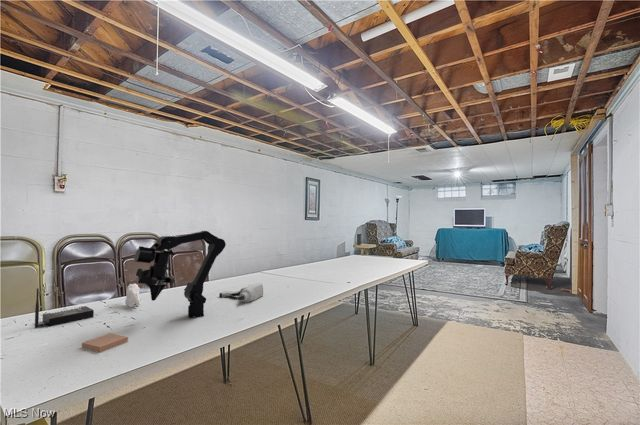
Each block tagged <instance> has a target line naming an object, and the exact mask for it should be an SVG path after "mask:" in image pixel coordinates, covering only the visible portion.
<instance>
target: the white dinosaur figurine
mask: <svg viewBox="0 0 640 425" xmlns="http://www.w3.org/2000/svg"><path fill="white" fill-rule="evenodd" d="M140 294H141V288H140V287H139V285H138V283H135V282H134V283H129V285H128V286H127V288H126V296H125V302H124V303H125V305H126V306H127V307H129V308H134V306H135V305H136V307H140V306H141V305H142V297H141V295H140Z"/></svg>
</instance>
